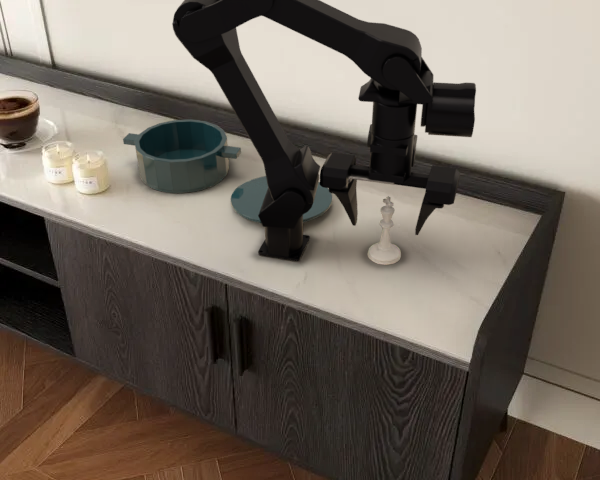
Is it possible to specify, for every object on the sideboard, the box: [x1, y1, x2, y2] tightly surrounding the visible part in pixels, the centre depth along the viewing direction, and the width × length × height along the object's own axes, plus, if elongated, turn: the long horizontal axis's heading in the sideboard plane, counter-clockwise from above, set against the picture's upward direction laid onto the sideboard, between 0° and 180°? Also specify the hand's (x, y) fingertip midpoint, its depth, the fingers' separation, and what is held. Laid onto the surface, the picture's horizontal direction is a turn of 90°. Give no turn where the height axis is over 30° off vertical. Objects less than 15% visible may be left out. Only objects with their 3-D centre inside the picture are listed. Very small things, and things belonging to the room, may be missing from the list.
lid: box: [230, 175, 333, 224], centre depth 123 cm, size 17×17×5 cm
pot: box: [122, 119, 242, 194], centre depth 133 cm, size 16×21×6 cm
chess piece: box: [367, 195, 402, 266], centre depth 111 cm, size 5×5×10 cm
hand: (385, 228), depth 111 cm, fingers open, 9 cm apart
